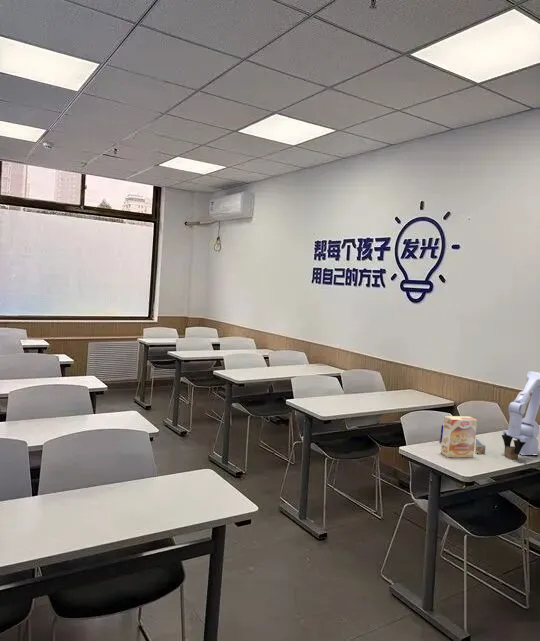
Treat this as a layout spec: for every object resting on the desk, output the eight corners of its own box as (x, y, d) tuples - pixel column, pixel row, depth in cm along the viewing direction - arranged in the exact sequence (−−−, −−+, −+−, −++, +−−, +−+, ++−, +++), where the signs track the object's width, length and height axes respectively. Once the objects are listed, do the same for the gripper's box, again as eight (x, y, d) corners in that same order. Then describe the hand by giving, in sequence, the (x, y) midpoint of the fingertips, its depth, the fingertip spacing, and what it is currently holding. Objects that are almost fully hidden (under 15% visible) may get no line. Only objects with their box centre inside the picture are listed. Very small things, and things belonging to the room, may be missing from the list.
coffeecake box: (448, 457, 257) (452, 419, 256) (439, 453, 264) (443, 415, 262) (474, 457, 261) (478, 419, 260) (465, 452, 268) (469, 415, 266)
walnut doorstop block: (512, 456, 268) (513, 446, 267) (517, 459, 264) (518, 448, 263) (504, 456, 267) (506, 446, 266) (509, 459, 263) (511, 448, 262)
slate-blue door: (485, 453, 268) (486, 446, 268) (482, 453, 268) (483, 445, 268) (477, 446, 281) (478, 438, 281) (475, 445, 281) (475, 438, 281)
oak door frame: (505, 453, 272) (506, 446, 272) (507, 454, 270) (508, 447, 270) (474, 453, 269) (475, 445, 268) (476, 454, 267) (477, 446, 267)
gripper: (499, 421, 270) (496, 446, 271) (517, 429, 256) (514, 456, 257) (511, 421, 272) (508, 447, 273) (529, 429, 258) (526, 456, 258)
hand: (511, 451), depth 265 cm, fingers open, 7 cm apart
